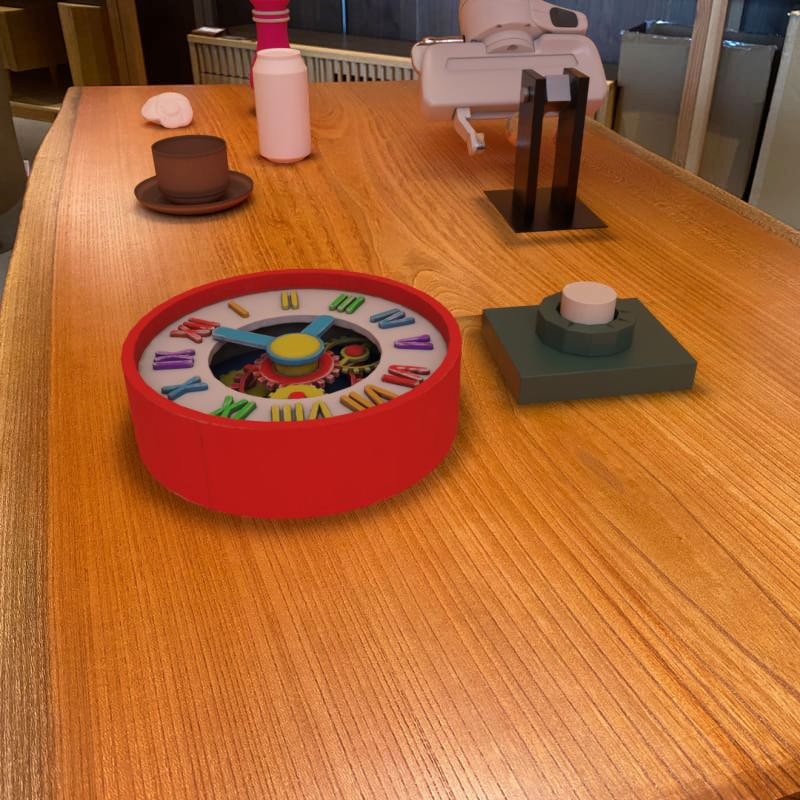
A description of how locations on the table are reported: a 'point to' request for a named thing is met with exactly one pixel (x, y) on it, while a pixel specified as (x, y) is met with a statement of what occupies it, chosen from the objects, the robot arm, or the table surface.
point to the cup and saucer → (192, 177)
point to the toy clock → (294, 391)
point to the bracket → (559, 202)
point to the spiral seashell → (168, 110)
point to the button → (588, 303)
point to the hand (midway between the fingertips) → (521, 150)
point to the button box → (584, 353)
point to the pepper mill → (270, 26)
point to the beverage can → (282, 105)
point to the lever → (554, 102)
